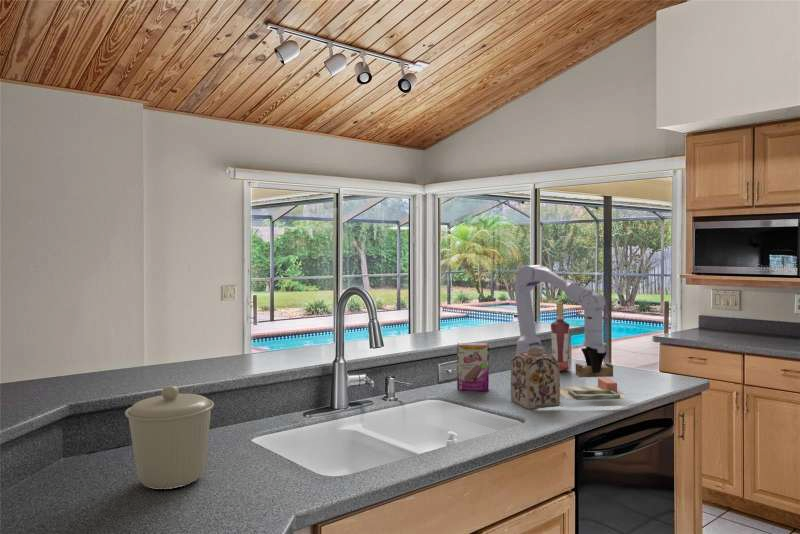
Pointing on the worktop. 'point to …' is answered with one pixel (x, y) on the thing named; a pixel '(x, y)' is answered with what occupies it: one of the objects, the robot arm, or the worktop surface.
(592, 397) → the jig
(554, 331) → the liquor
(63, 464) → the worktop surface
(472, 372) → the candy bar box
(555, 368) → the decorative jar
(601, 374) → the brown u-shaped block
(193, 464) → the canister
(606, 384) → the pink rectangular block
